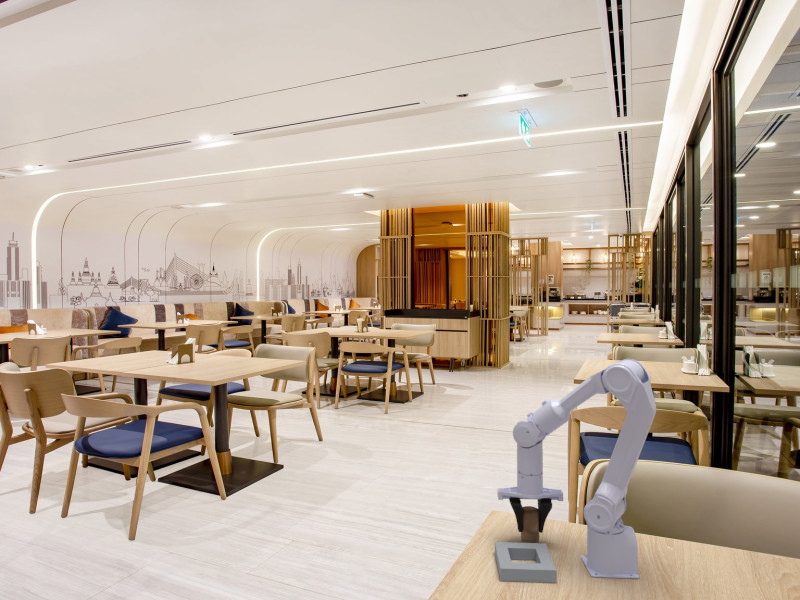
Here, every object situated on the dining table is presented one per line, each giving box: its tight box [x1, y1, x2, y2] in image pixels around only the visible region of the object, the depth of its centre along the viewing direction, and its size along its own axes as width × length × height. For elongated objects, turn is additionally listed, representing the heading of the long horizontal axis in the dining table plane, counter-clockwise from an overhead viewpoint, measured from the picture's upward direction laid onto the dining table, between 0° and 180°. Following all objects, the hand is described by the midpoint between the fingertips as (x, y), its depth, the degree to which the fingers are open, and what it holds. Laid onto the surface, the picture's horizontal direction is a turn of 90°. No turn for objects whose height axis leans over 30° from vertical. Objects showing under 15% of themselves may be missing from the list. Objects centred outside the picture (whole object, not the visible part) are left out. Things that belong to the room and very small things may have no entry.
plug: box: [520, 505, 540, 543], centre depth 118 cm, size 4×4×8 cm
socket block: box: [494, 541, 557, 584], centre depth 108 cm, size 11×11×2 cm
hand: (530, 530), depth 118 cm, fingers closed on plug, 4 cm apart
